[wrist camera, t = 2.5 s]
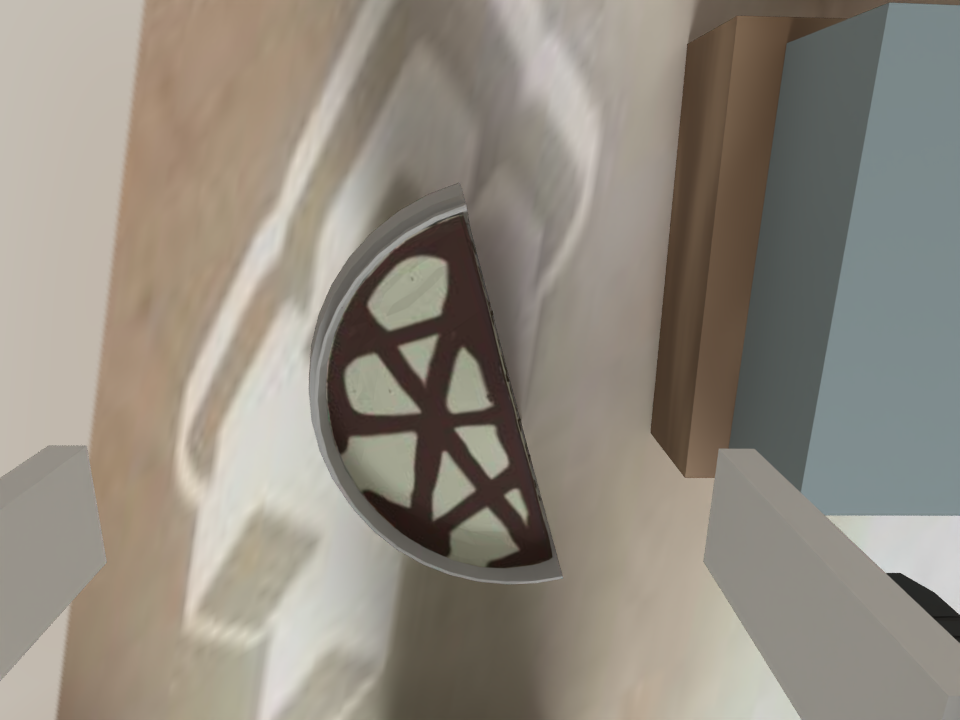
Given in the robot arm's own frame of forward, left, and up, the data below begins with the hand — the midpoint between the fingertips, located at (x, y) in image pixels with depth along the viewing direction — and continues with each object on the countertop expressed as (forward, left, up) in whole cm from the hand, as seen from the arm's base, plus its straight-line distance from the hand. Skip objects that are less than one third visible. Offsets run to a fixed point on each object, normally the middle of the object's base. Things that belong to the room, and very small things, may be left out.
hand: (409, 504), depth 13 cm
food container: (0, 0, -15) cm, 15 cm away
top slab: (+17, +4, -10) cm, 20 cm away
